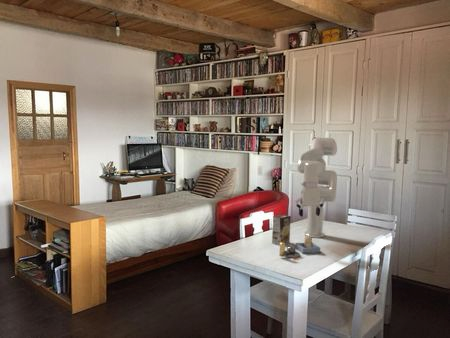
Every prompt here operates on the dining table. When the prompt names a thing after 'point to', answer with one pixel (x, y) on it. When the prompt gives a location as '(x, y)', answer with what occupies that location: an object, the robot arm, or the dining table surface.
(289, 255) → the crank base
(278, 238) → the coffee box
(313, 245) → the tray
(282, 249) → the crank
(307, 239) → the stop peg
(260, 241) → the dining table surface
